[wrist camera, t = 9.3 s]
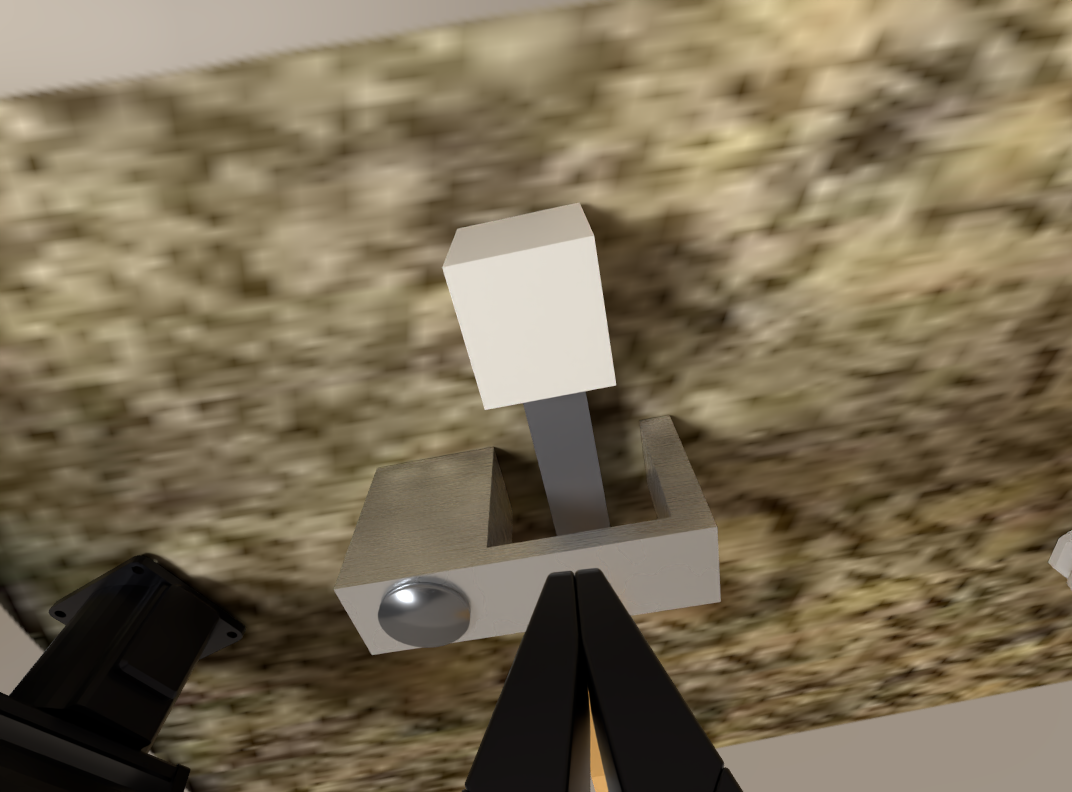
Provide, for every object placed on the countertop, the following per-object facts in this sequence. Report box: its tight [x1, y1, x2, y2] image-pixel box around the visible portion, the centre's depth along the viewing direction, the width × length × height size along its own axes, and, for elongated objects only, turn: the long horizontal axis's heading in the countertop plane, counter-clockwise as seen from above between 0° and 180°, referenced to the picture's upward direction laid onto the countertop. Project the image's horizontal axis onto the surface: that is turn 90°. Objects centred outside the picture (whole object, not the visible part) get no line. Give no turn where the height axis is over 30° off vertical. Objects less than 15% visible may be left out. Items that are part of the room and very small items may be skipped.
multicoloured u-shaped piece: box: [442, 203, 616, 792], centre depth 18 cm, size 18×4×9 cm, turn 12°
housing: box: [334, 415, 721, 655], centre depth 21 cm, size 4×12×6 cm, turn 102°
